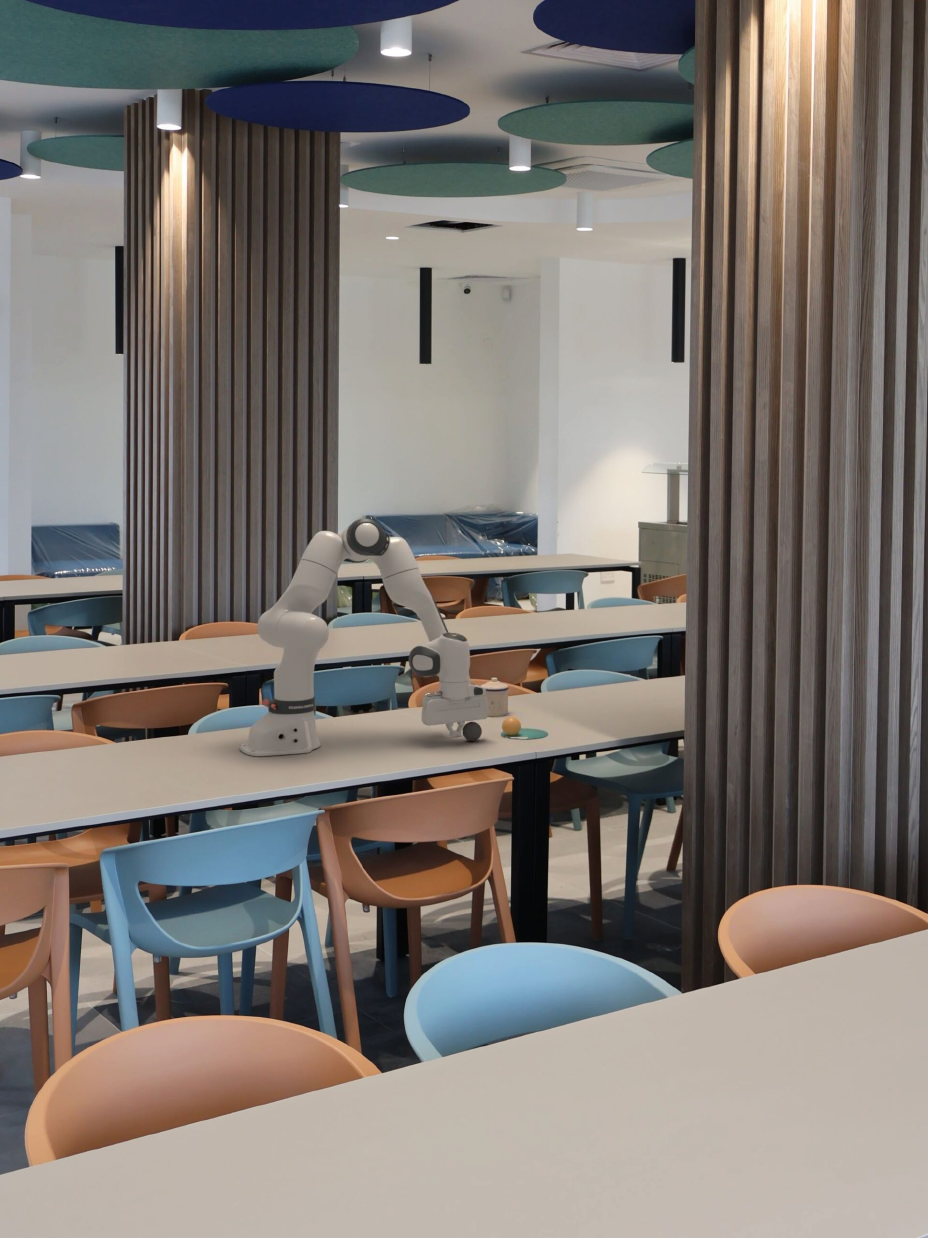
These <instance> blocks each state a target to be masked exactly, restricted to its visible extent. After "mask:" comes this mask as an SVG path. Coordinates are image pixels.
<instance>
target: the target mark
mask: <svg viewBox="0 0 928 1238" xmlns="http://www.w3.org/2000/svg"><path fill="white" fill-rule="evenodd" d="M500 735H501V737H503V736H505V737H504V738H506V737H528V738H527V739H526V740H535V739H534V738H539V739H543V738H547V736H549V733H548V732H547V731H546V730H542V729H538V728H527V727H526V728H522V727H521V730H520V732H519V733H518V734H517V735H515V736H509V735H506V734H505V733H504V732H503V731H501V732H500ZM542 737H543V738H542Z"/></svg>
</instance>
